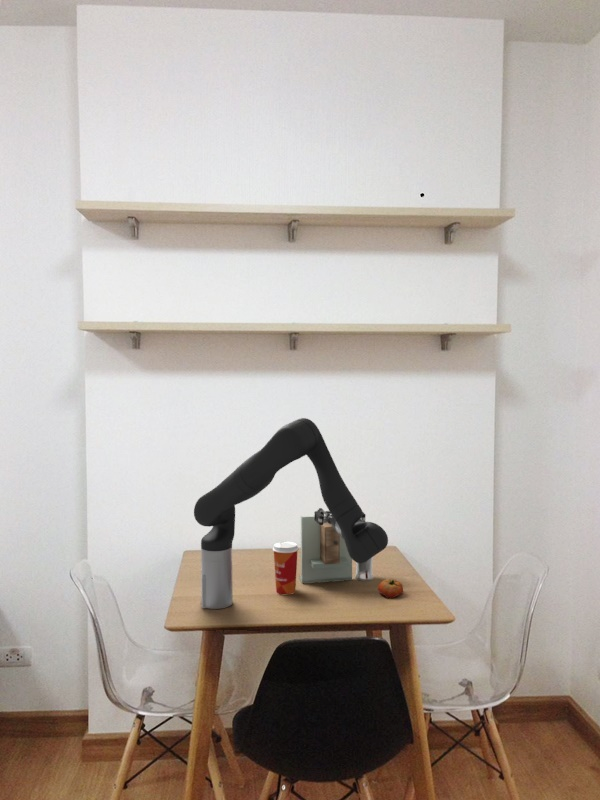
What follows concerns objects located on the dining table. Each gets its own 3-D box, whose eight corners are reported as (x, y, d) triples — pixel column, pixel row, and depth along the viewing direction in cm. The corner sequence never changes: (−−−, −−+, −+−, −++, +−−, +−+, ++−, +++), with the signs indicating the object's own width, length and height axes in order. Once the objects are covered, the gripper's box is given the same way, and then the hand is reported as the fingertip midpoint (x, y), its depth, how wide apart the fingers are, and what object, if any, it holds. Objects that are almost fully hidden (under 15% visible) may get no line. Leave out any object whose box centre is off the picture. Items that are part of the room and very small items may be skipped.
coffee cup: (269, 588, 202) (269, 542, 201) (293, 585, 205) (293, 540, 204) (277, 597, 194) (277, 549, 193) (302, 594, 197) (302, 546, 196)
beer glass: (350, 579, 210) (350, 535, 209) (357, 573, 217) (358, 530, 216) (370, 582, 207) (370, 537, 207) (377, 576, 214) (377, 532, 213)
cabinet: (325, 565, 200) (325, 528, 199) (320, 558, 207) (320, 522, 206) (340, 564, 201) (340, 527, 200) (335, 557, 208) (335, 521, 207)
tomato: (376, 594, 193) (380, 572, 197) (375, 602, 198) (378, 580, 203) (402, 599, 192) (405, 577, 196) (400, 608, 197) (403, 586, 201)
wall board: (305, 589, 201) (305, 521, 200) (299, 578, 212) (299, 513, 210) (356, 585, 205) (356, 518, 204) (348, 575, 215) (348, 511, 214)
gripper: (373, 511, 175) (356, 498, 191) (324, 512, 172) (310, 499, 188) (373, 537, 176) (356, 522, 192) (323, 539, 173) (310, 524, 189)
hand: (333, 511), depth 190 cm, fingers open, 8 cm apart
